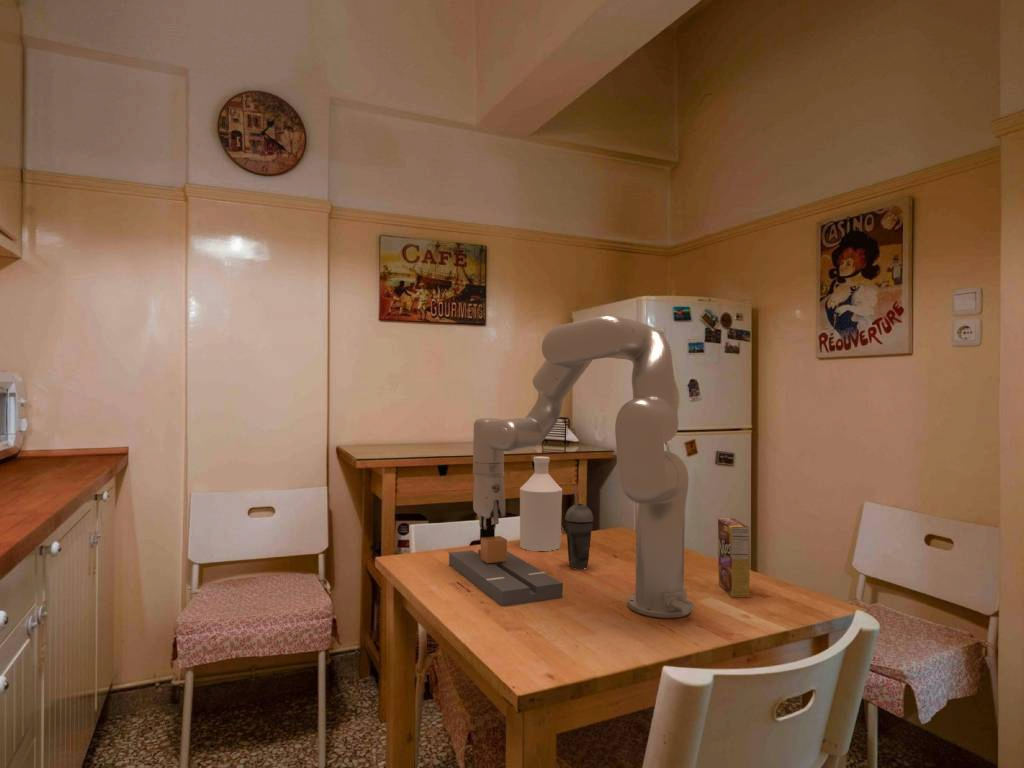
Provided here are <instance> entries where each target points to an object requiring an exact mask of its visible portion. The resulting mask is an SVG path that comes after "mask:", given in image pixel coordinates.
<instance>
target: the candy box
mask: <svg viewBox="0 0 1024 768" xmlns="http://www.w3.org/2000/svg"><path fill="white" fill-rule="evenodd" d="M717 541H718V542H717V544H718V545H717V546H718V547H717V551H718V552H717V555H718V558H717V559H718V561H717V562H718V569H717V570H718V585H719V586H720V588H722V589H723V590H724V591H725V592H726V593H727V594H728V595H729V596H730V597H731V598H739V599H741V598H742V599H743V598H744V599H745V598H747V599H748V598H750V595H751V594H750V592H751V591H750V590H751V589H750V584H751V583H750V577H751V576H750V569H751V568H750V527H749V526H748V525H746V524H744V523H742V522H740V521H739V520H738V519H736V518H733V517H730V518H729V517H722V518H721V517H720V518H719V517H718V518H717Z"/></svg>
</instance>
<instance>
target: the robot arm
mask: <svg viewBox="0 0 1024 768" xmlns="http://www.w3.org/2000/svg"><path fill="white" fill-rule="evenodd" d="M671 351H672V350H671V347H670V344H669V342H668V340H667V338H666V337H665V336H664V334H662V333H661V332H660V331H659V330H658V329H657V328H655V327H653V326H651V325H648V324H646V323H644V322H641V321H640V322H639V321H637V320H633V319H630V318H624V317H621V316H616V315H601V316H596V317H590V318H587V319H583V320H578V321H573V322H570V323H564V324H560V325H557V326H555V327H553V328H552V329H550V330H549V331H548V332H546V334H545V336H544V338H543V339H542V343H541V353H542V355H543V358H544V362H543V364H541V366H540V368H539V369H538V370H537V372H536V373H535V375H534V376H533V378H532V385H533V387H534V388H535V390H536V391H537V392H538V395H537V399H536V401H535V404H534V406H533V407H532V408H531V409H530V411H529V412H528V414H527V415H526V416H525V417H524V418H523V417H522V418H521V417H520V418H511V419H510V418H509V419H500V418H490V417H487V418H485V417H484V418H478V419H476V420H475V421H474V423H473V438H472V439H473V444H472V445H473V450H472V454H473V455H472V476H473V477H474V481H473V493H472V497H473V498H472V508H473V511H474V513H475V514H477V515H476V516H477V517H478V518H479V522H478V524H479V545H480V546H481V538H483V537H494V536H495V534H496V526H497V525H499V523H500V521H499V518H504V517H505V516H506V490H505V488H506V487H505V480H504V475H505V474H504V473H505V452H516V451H523V450H524V451H525V450H530V449H534V448H537V447H538V446H539V445H541V444H542V443H543V441H544V440H545V438H547V436H549V434H550V432H551V431H552V430H553V428H555V426H556V424H557V423H558V420H559V418H560V415H561V412H562V409H563V402H564V400H565V398H566V397H567V395H568V394H569V393H570V391H571V390H572V388H573V387H574V386H575V384H576V383H577V382H578V380H579V379H580V377H581V376H582V375H583V374H584V373H585V371H586V369H587V368H588V367H589V366H590V364H591V363H592V361H593V360H598V359H599V360H600V359H605V358H606V359H607V358H608V359H619V360H628V361H631V362H632V371H631V372H632V373H631V387H632V399H631V400H628V401H627V402H626V403H624V404H623V405H622V406H621V407H620V409H619V411H618V412H617V416H616V418H615V419H616V420H615V424H614V425H615V426H614V429H615V430H614V431H615V432H614V433H615V444H616V445H615V447H616V456H617V467H618V468H617V469H618V479H619V482H620V486H621V489H622V491H623V493H624V494H625V496H626V497H627V498H628V499H629V500H631V501H632V502H634V503H637V509H636V510H637V511H636V522H635V523H636V524H635V525H636V528H635V529H636V530H635V593H633V594H630V596H629V597H627V606H628V607H629V608H630V610H632V611H633V612H635V613H637V614H640V615H643V616H648V617H652V618H660V619H675V618H681V617H685V616H688V615H689V614H691V612H692V610H693V609H694V608H695V603H694V601H692V600H690V599H688V596H687V595H688V591H687V589H684V588H685V587H684V586H685V582H684V581H685V575H684V574H685V531H686V530H685V529H686V527H685V526H686V523H685V522H686V521H685V520H686V507H687V506H686V504H687V498H688V492H689V491H688V488H689V471H688V469H687V466H686V464H685V462H684V460H683V459H682V458H681V457H680V456H679V455H677V454H676V453H674V452H671V451H667V450H665V443H667V442H670V441H671V440H672V439H673V438H674V437H675V436H676V435H677V432H678V430H679V415H678V406H677V398H676V397H677V393H676V386H675V380H674V378H675V377H674V368H673V367H674V366H673V356H672V352H671Z"/></svg>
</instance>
